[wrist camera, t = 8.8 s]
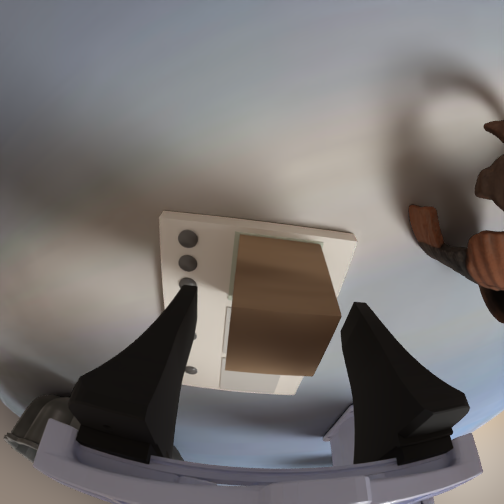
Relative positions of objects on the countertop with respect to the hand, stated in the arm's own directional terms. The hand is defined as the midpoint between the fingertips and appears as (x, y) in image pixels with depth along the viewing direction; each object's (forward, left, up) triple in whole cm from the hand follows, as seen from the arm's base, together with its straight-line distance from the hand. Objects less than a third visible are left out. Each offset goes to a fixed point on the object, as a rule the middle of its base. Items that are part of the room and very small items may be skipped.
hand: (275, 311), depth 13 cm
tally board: (-5, +1, -4) cm, 6 cm away
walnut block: (0, 0, -3) cm, 3 cm away
